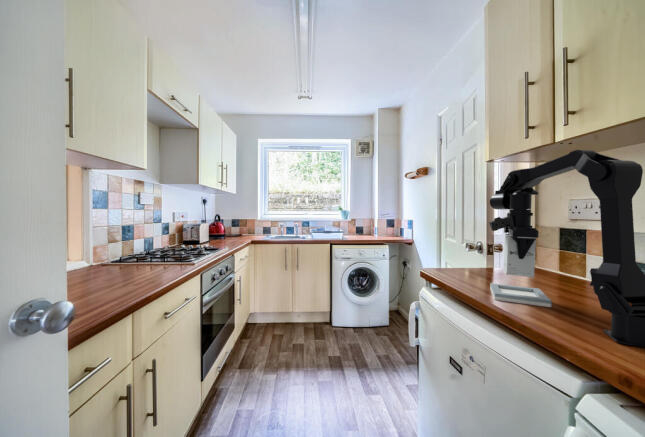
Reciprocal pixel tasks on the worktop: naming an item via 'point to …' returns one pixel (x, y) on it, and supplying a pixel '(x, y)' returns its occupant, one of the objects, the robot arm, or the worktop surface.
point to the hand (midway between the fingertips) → (518, 257)
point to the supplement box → (512, 261)
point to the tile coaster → (519, 295)
